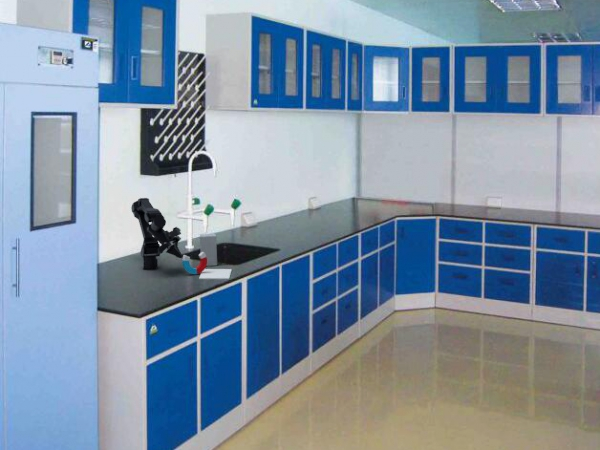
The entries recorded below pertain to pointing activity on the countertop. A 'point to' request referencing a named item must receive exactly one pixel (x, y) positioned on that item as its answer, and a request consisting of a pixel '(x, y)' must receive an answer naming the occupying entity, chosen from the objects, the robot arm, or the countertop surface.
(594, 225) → the countertop surface
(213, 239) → the skincare box
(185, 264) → the magnet
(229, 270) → the white paper sheet
